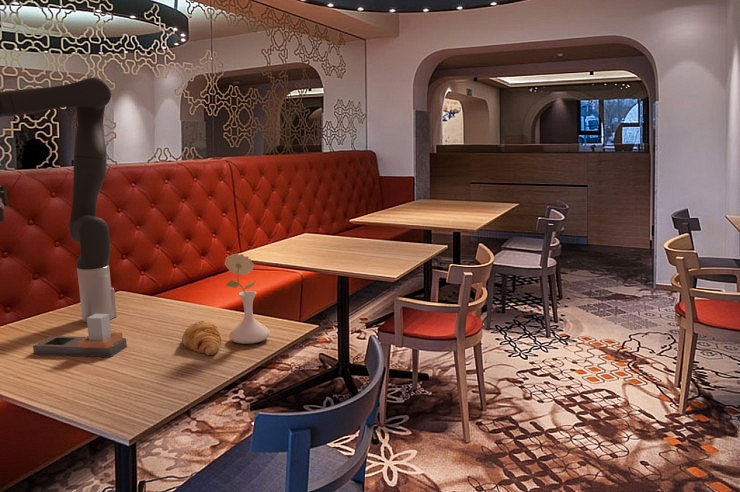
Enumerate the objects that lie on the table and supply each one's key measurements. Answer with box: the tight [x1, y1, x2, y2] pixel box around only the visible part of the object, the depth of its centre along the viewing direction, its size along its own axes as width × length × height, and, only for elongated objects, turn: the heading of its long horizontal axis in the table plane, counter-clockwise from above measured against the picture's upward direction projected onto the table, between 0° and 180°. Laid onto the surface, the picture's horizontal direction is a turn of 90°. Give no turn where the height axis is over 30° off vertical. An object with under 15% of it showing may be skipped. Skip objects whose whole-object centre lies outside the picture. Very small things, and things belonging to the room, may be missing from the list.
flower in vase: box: [224, 252, 271, 345], centre depth 165 cm, size 13×11×25 cm
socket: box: [32, 332, 128, 358], centre depth 160 cm, size 22×8×4 cm, turn 83°
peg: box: [86, 314, 112, 341], centre depth 159 cm, size 4×4×10 cm
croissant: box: [181, 320, 222, 356], centre depth 163 cm, size 21×10×8 cm, turn 32°
